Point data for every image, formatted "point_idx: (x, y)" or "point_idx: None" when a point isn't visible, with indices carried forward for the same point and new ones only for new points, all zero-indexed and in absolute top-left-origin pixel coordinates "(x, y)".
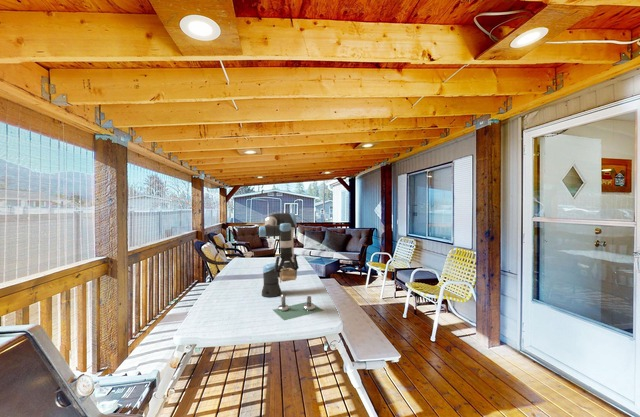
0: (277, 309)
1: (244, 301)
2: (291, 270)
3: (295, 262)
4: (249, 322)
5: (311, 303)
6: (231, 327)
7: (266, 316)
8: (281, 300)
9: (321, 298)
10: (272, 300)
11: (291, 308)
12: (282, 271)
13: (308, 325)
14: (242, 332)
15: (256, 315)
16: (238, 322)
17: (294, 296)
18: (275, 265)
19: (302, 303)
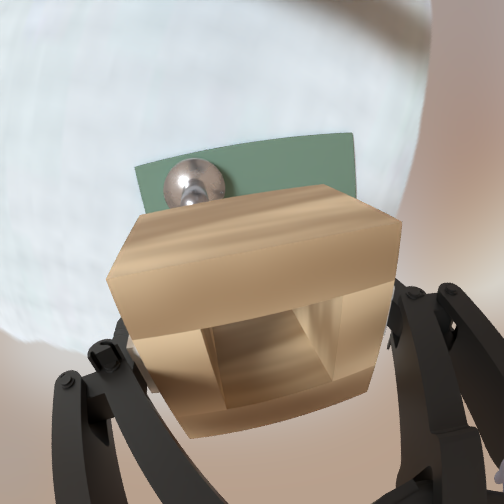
0: (162, 172)
1: (43, 11)
2: (327, 393)
3: (467, 395)
4: (45, 268)
5: (349, 164)
6: (5, 286)
7: (103, 231)
8: (181, 197)
9: (406, 119)
10: (172, 17)
11: (237, 186)
12: (192, 416)
13: None
14: (44, 331)
15: (62, 205)
16: (12, 254)
17: (307, 17)
18: (67, 470)
19: (313, 141)
